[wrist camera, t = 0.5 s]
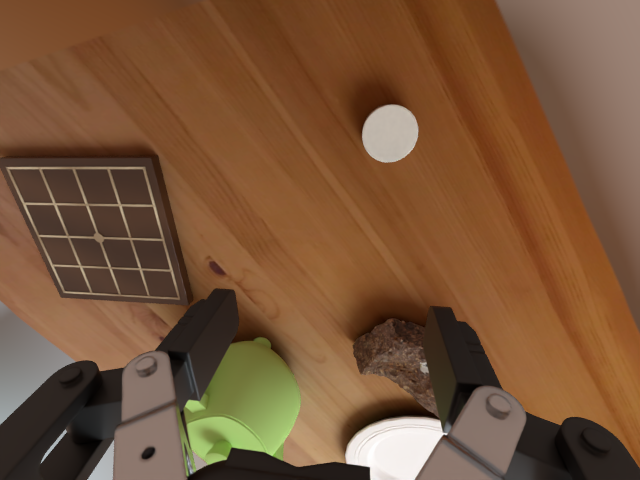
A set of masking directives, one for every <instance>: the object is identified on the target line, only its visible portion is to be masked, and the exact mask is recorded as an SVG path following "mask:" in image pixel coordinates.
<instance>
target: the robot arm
mask: <svg viewBox="0 0 640 480" xmlns="http://www.w3.org/2000/svg"><path fill="white" fill-rule="evenodd" d="M238 326H239V316H238V309H237V302H236V295H235V291H234V290H231V289H218V288H216V289H214V290H213V291H212V293H211V294H210V295H209V297H208V298H207V299H206V300H205V299H201V300H200V301H198V302H197V303H195V304H194V305H192V306H191V307H190V308H189V309H188V311H187V312H186V313H185V314H184V317H182V318H181V319H180V320H179V322H178V324H176V325H175V326H174V328H173V329H172V330H171V331H170V333H169V334H168V335H167V336H166V337H165V339H164V340H163V341H162V342H161V344H160V345H159V346H158V347H157V348H156V350H155V351H149V352H146V353H143V354H141V355H139V356H137V357H135V358H134V359H132V360H131V361H130V362H129V363H128V364H127V365H126V366H125V368H119V369H112V370H106V371H99V368H98V366H97V364H96V363H95V362H93V361H88V360H86V361H78V362H75V363H72V364H69V365H67V366H65V367H63V368H61V369H60V370H58V371H57V372H55V373H54V374H53V375H52V376H51V377H50V378H48V379H47V380H46V381H45V383H43V384H42V385H41V386H40V387H39V388H38V389H37V390H36V391H35V392H34V393H33V394H32V395H31V396H30V397H29V398H28V399H27V400H26V401H25V402H24V403H23V404H21V405H20V407H18V408H17V409H16V410H15V411H14V412H13V413H12V414H11V415H10V416H9V417H8V418H7V419H6V420H5V421H4V422H3V423H2V424H1V425H0V480H87V479H88V477H89V476H90V475H91V473H92V472H93V470H94V469H95V467H96V466H97V464H98V463H99V461H100V460H101V458H102V457H103V455H104V454H105V452H106V451H107V449H108V448H109V446H110V444H111V443H112V441H113V440H114V465H113V480H370V467H367V466H360V465H353V464H345V463H338V462H331V463H324V464H317V465H310V466H303V467H295V466H293V465H291V464H289V463H286V462H284V461H282V460H280V459H278V458H276V457H274V456H271V455H269V454H267V453H265V452H260V451H253V450H246V449H239V448H232V447H231V449H230V452H229V455H228V457H227V460H221V461H218V462H214V463H212V464H209V465H207V466H205V467H203V468H201V469H199V470H197V471H196V467H195V464H194V459H193V454H192V448H191V443H190V437H189V432H188V427H187V421H186V416H185V411H184V407H185V405H186V403H187V402H188V400H193V401H200V400H201V398H202V397H203V395H204V393H205V391H206V389H207V387H208V385H209V383H210V382H211V380H212V378H213V376H214V374H215V372H216V370H217V369H218V367H219V365H220V363H221V361H222V359H223V357H224V355H225V354H226V352H227V350H228V348H229V346H230V344H231V342H232V340H233V339H234V337H235V335H236V333H237V330H238ZM423 348H424V354H425V359H426V363H427V367H428V371H429V376H430V380H431V384H432V388H433V393H434V397H435V401H436V405H437V410H438V414H439V418H440V422H441V427H442V431H443V433H448V434H447V435H445V434H444V435H443V436H442V437H441V438H440V440H439V441H438V443H437V444H436V446H435V447H434V449H433V451H432V452H431V454H430V456H429V457H428V459H427V460H426V462H425V464H424V465H423V467H422V468H421V470H420V472H419V473H418V475H417V476H416V478H415V480H640V468H639V467H638V465H637V464H636V462H635V461H634V459H633V458H632V457H631V455H630V454H629V452H628V451H627V449H626V448H625V446H624V445H623V444H622V443H621V442H620V440H619V439H618V438H617V437H615V436H614V435H613V434H612V433H611V432H609V431H608V430H607V429H605V428H604V427H602V426H600V425H599V424H597V423H595V422H593V421H590V420H587V419H585V418H580V417H570V418H567V419H565V420H564V421H563V423H562V425H558V424H555V423H552V422H550V421H547V420H544V419H542V418H539V417H536V416H534V415H532V414H529V413H528V412H526V411H524V408H523V407H522V405H521V404H520V403H519V402H518V400H517V399H516V398H514V397H513V396H512V395H511V394H509V393H508V392H506V391H504V390H503V389H502V387H501V385H500V383H499V381H498V378H497V376H496V374H495V372H494V370H493V368H492V366H491V364H490V362H489V359H488V357H487V355H486V354H485V351H484V349H483V347H482V345H481V343H480V340H479V338H478V336H477V334H476V332H475V331H474V330H473V329H472V328H471V327H470V326H469V325H468V324H467V323H466V322H460V321H457V320H456V318H455V315H454V313H453V311H452V309H451V308H450V307H439V306H430V308H429V311H428V316H427V321H426V326H425V332H424V337H423ZM65 429H66V431H67V433H66V434H65V435H64V437H63V438H62V439H61V440H60V441H59V443H58V444H57V445H56V446H55V447H54V449H53V450H52V451H51V452H50V453H49V455H48V456H47V457H46V458H45V460H44V461H43V462H42V463H41V460H42V458H43V456H44V455H45V453H46V452H47V450H48V449H49V448H50V447H51V446H52V444H53V443H54V442H55V441H56V440H57V438H58V437H59V436H60V435H61V434H62V432H63V431H64V430H65Z"/></svg>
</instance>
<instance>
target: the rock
mask: <svg viewBox="0 0 640 480" xmlns="http://www.w3.org/2000/svg"><path fill="white" fill-rule="evenodd" d="M424 332H425V327H422V326H420V325H417V324H414V323H412V322H408V323H405V321H402V322H400V321H399V320H398V319H394V318H391V319H388V320H387V321H386V322H385V323H383V324H380V325H378V326H375V328H374V329H373V330H372V331H371V333H366V334H365V335H363V336H361V337H359V338H357V339H356V341H355V343H354V345H353V349H354V352H353V354H354V357H355V358H356V361H357V366H358V368H359V372H360V374H361V375H368V374H372V373H373V374H376V375H379V376H385V377H387V378H389V379H391V380H392V381H393V382H395V383H397V384H398V385H399V386H400V387H401V388H403V389H404V390H405V391H407V392H408V393H410V394H411V395H412V396H413V397H414V398H415V400H416V401H417V402H418V403H419V404H421V405H422V406H423V407H424V408H425V409H427V410H428V411H430V412H432V413H434V414H435V415H436V416H437V417H439V414H438V410H437V405H436V401H435V397H434V393H433V388H432V384H431V380H430V376H429V371H428V367H427V363H426V359H425V354H424V348H423V337H424Z"/></svg>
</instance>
